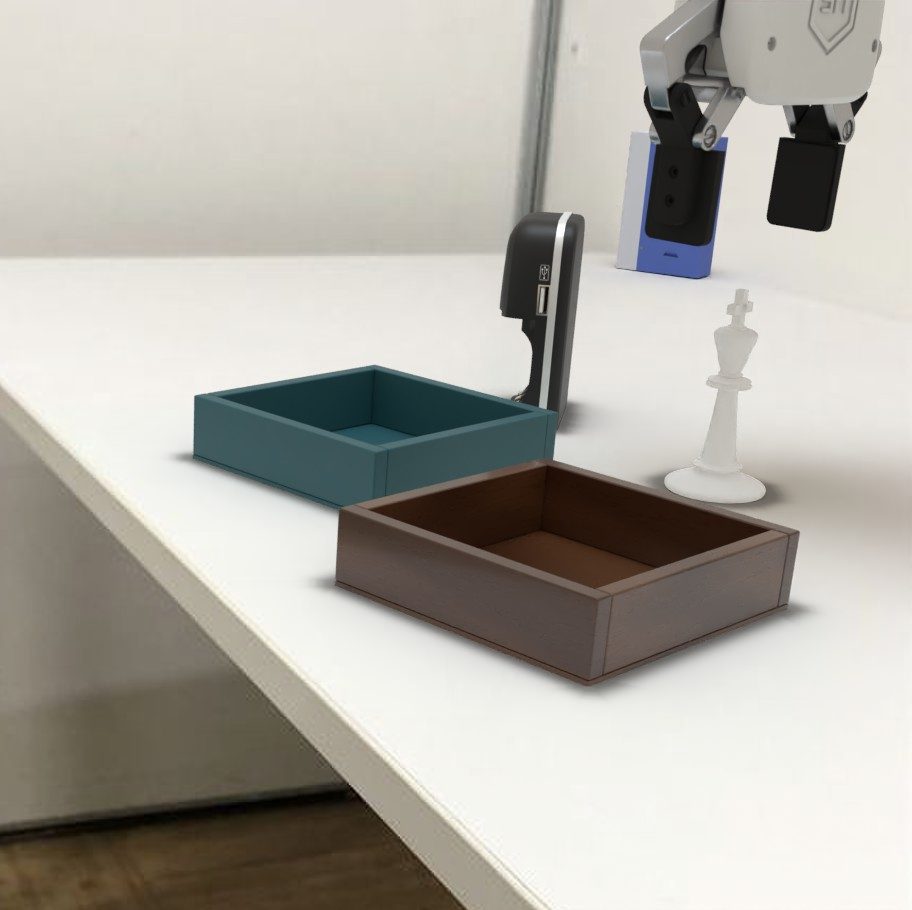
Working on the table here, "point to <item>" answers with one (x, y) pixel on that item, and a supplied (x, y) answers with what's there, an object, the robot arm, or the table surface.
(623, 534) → the walnut tray
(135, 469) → the table surface
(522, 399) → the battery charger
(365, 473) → the teal tray
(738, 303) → the chess piece
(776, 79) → the robot arm
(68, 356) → the table surface
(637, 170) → the walkman
